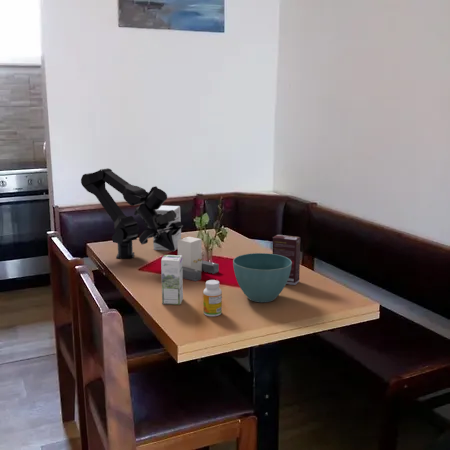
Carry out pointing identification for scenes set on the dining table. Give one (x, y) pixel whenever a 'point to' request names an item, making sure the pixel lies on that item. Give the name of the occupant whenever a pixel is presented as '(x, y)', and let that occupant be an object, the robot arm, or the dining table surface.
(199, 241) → the plug
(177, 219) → the supplement box
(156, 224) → the robot arm
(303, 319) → the dining table surface
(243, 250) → the dining table surface
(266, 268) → the teal bowl
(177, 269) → the syrup box
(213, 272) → the housing
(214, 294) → the supplement bottle
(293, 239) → the supplement box
